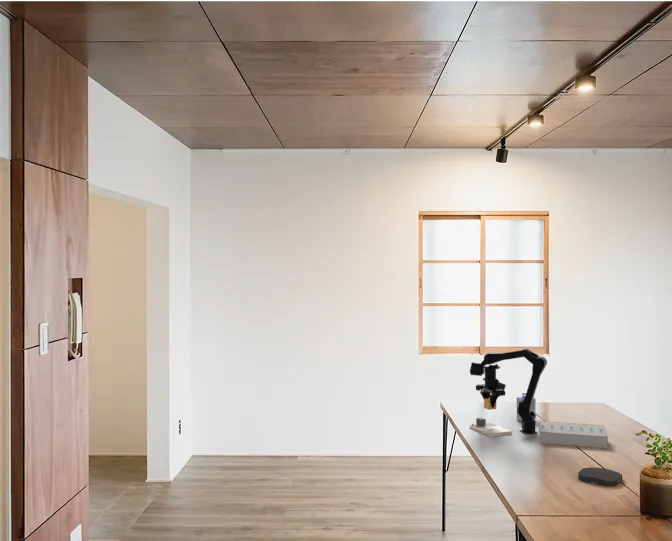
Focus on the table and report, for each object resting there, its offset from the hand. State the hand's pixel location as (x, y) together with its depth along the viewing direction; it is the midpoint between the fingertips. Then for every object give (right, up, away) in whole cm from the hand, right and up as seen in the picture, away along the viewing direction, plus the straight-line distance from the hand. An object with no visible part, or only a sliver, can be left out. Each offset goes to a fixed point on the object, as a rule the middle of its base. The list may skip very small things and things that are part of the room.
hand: (490, 406), depth 333 cm
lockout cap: (0, -1, 0) cm, 1 cm away
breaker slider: (-5, -9, -3) cm, 11 cm away
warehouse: (+33, -12, -26) cm, 44 cm away
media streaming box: (+24, -12, -81) cm, 86 cm away
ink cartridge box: (+24, -11, +17) cm, 31 cm away
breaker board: (-2, -11, -8) cm, 13 cm away
